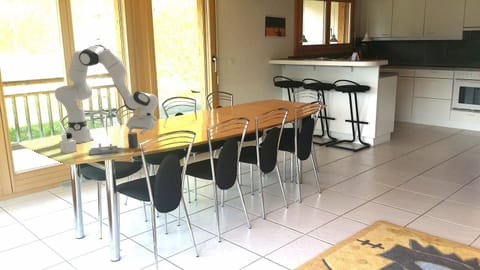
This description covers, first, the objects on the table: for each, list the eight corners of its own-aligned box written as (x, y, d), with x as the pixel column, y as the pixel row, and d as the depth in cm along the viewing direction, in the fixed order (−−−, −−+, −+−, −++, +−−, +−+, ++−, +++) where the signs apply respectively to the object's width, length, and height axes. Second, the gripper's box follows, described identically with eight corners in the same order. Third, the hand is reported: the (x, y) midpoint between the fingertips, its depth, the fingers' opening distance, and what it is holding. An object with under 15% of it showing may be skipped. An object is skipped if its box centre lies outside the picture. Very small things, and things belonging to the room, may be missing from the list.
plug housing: (128, 147, 271) (127, 133, 269) (133, 146, 275) (131, 132, 273) (133, 148, 269) (132, 133, 267) (138, 147, 273) (136, 132, 271)
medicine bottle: (71, 150, 271) (68, 131, 269) (77, 151, 267) (74, 132, 264) (60, 152, 266) (58, 133, 263) (66, 153, 261) (64, 134, 259)
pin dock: (90, 149, 270) (90, 143, 269) (116, 147, 275) (116, 141, 274) (90, 155, 255) (89, 149, 254) (117, 152, 260) (117, 146, 259)
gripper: (129, 112, 282) (120, 130, 275) (154, 114, 272) (145, 132, 266) (134, 118, 286) (125, 135, 280) (159, 119, 277) (150, 137, 271)
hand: (135, 133), depth 273 cm, fingers open, 8 cm apart
